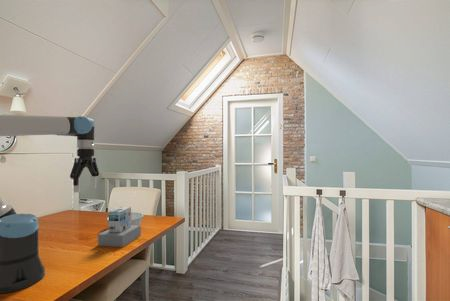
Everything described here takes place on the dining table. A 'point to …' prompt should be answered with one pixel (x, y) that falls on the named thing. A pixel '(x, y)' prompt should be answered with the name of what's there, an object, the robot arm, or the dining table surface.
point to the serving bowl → (134, 218)
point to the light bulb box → (119, 219)
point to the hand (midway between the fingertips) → (85, 190)
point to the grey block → (119, 236)
